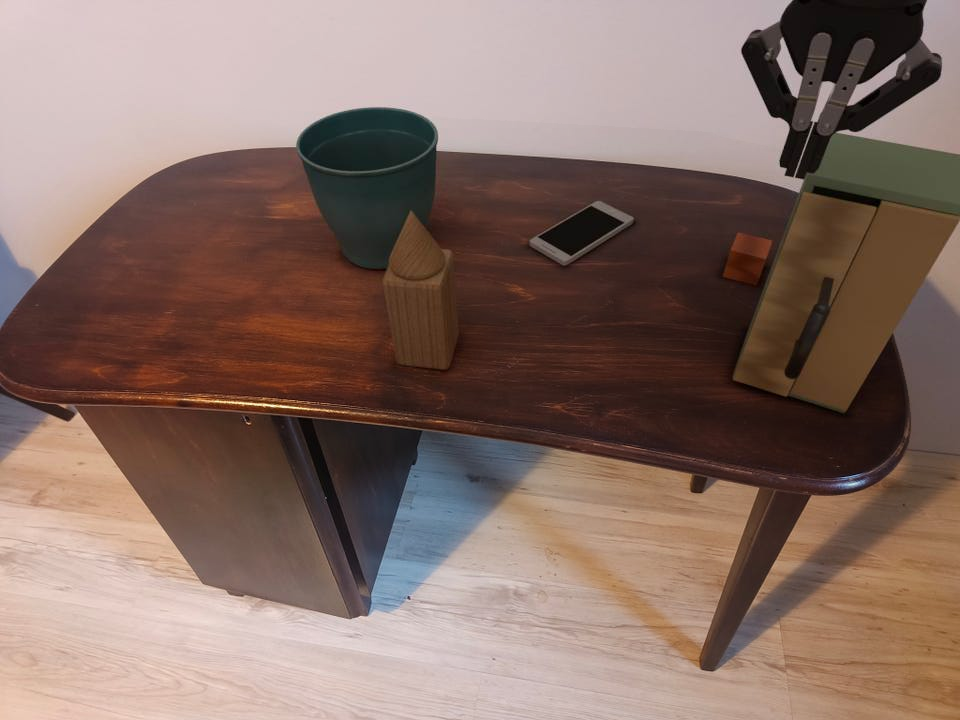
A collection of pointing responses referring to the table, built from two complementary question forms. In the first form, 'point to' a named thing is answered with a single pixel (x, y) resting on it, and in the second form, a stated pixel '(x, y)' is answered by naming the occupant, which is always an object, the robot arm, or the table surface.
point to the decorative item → (421, 299)
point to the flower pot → (370, 176)
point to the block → (747, 258)
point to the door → (802, 290)
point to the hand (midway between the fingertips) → (796, 173)
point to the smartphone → (581, 232)
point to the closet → (875, 254)
